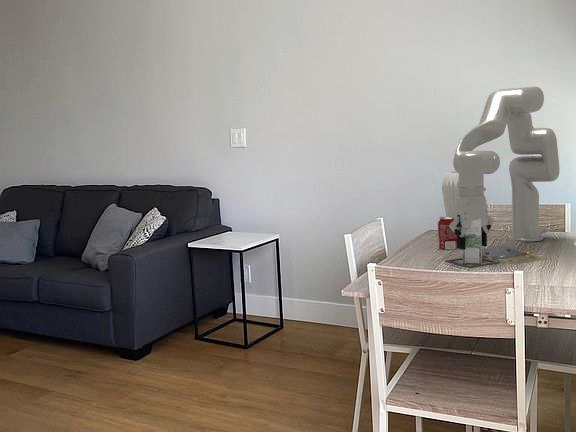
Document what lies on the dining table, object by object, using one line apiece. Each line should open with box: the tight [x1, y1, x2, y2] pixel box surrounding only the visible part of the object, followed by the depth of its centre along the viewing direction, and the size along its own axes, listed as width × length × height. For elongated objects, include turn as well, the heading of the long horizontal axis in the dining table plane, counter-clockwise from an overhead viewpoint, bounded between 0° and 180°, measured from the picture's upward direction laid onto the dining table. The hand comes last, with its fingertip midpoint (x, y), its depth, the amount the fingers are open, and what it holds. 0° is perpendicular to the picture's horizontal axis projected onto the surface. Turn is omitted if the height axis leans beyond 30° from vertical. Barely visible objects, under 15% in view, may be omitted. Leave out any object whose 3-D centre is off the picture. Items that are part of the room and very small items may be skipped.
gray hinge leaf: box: [482, 245, 527, 261], centre depth 204 cm, size 14×10×1 cm
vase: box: [441, 170, 462, 231], centre depth 244 cm, size 13×13×26 cm
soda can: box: [437, 216, 459, 251], centre depth 219 cm, size 7×7×12 cm
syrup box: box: [462, 218, 483, 265], centre depth 194 cm, size 6×6×14 cm
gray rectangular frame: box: [445, 257, 501, 272], centre depth 194 cm, size 12×12×1 cm
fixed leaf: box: [485, 250, 549, 266], centre depth 196 cm, size 18×11×2 cm, turn 113°
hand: (472, 247), depth 194 cm, fingers closed on syrup box, 7 cm apart
